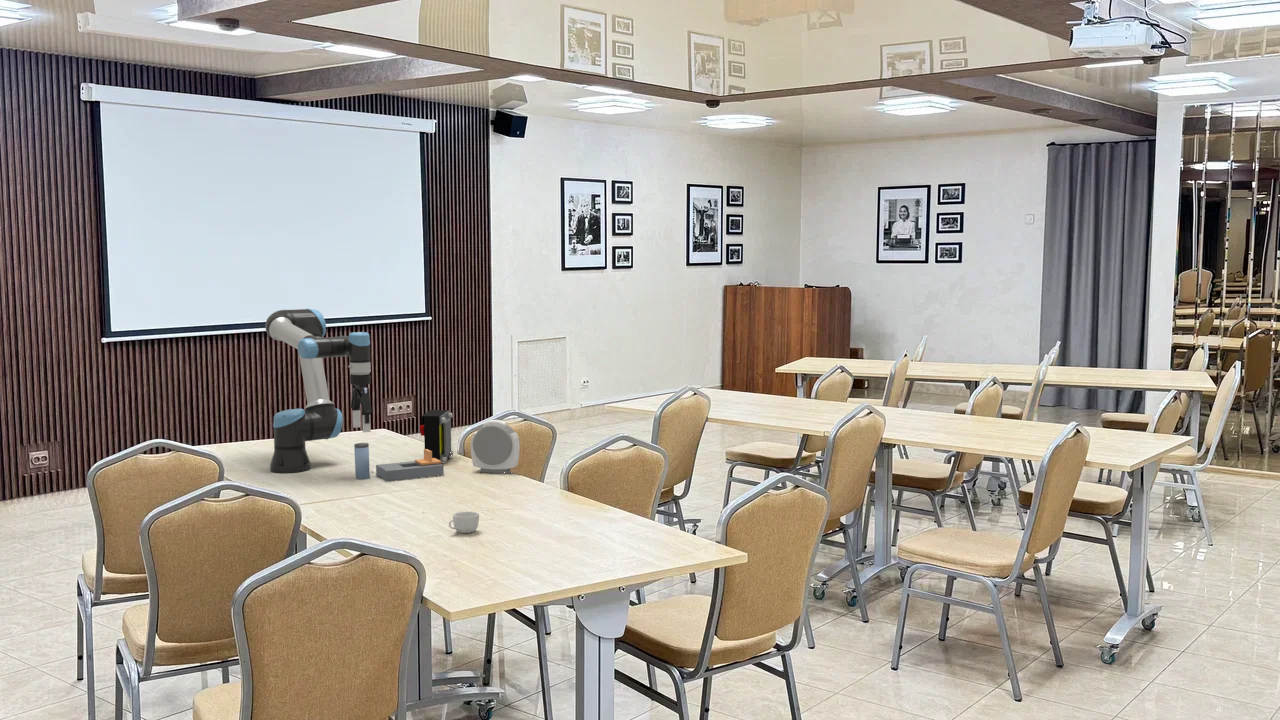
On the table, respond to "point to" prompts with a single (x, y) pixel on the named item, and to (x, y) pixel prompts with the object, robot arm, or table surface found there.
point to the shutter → (428, 459)
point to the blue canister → (362, 461)
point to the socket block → (407, 470)
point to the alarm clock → (495, 447)
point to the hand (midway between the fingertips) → (361, 429)
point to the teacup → (465, 521)
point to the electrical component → (437, 433)
